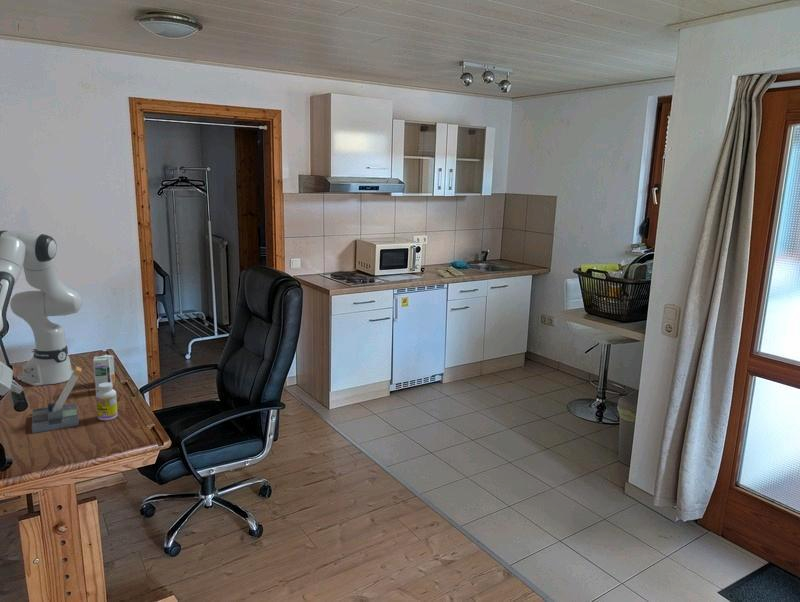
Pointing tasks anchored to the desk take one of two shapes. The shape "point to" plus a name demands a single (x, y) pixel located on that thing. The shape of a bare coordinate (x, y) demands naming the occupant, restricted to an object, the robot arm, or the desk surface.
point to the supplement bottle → (106, 402)
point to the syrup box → (102, 370)
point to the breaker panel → (54, 418)
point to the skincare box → (112, 367)
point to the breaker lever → (67, 389)
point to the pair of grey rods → (47, 407)
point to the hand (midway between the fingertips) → (21, 390)
